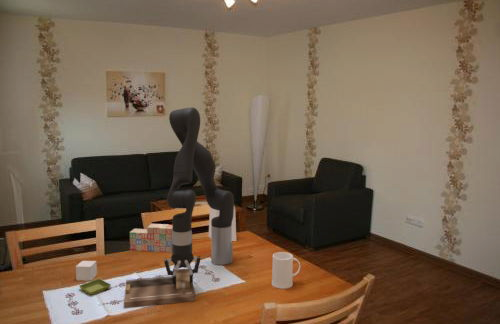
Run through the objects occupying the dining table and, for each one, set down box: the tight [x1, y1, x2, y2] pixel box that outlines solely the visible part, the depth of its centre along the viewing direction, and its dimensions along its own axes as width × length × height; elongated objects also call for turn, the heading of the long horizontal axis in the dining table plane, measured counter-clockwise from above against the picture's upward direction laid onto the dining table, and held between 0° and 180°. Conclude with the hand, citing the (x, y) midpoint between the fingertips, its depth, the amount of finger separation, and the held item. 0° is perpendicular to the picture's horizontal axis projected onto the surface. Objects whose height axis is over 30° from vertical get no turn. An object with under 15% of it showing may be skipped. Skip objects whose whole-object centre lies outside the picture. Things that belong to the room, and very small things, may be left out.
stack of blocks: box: [129, 223, 173, 254], centre depth 196 cm, size 21×6×12 cm, turn 83°
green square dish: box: [78, 278, 112, 295], centre depth 154 cm, size 9×9×2 cm
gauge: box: [176, 268, 190, 294], centre depth 150 cm, size 5×9×6 cm, turn 13°
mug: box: [271, 251, 301, 290], centre depth 160 cm, size 12×8×12 cm
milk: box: [208, 206, 237, 242], centre depth 211 cm, size 12×12×26 cm
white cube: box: [75, 260, 98, 282], centre depth 164 cm, size 6×6×6 cm
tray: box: [123, 275, 196, 309], centre depth 149 cm, size 25×13×4 cm, turn 103°
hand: (182, 283), depth 153 cm, fingers closed on gauge, 5 cm apart
